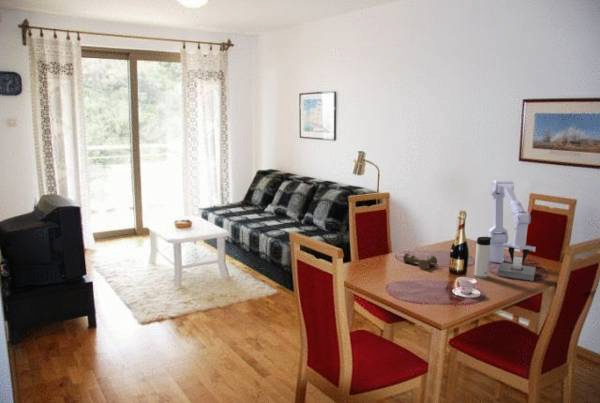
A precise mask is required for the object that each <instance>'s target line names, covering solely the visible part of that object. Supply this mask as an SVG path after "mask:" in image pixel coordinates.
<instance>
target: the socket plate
mask: <svg viewBox="0 0 600 403" xmlns="http://www.w3.org/2000/svg"><path fill="white" fill-rule="evenodd" d="M499 264H500V265H499V267H498V269H497V276H498V277H504V278H508V277H509V278H510V279H516V280H521V279H522V280H521V281H523V280H524V281H528V280H529V281H530V282H535V281H534V279H535V275H536V266H529V265H524V264H523V265H522V271H519V270H512V268H513V263H509V262H503V263H502V262H501V263H499ZM529 281H528V282H529Z"/></svg>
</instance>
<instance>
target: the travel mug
mask: <svg viewBox="0 0 600 403" xmlns="http://www.w3.org/2000/svg"><path fill="white" fill-rule="evenodd" d="M491 239H492V238H491V237H487V236H479V237H477V239H476V247H475V248H476V250H475V260H474V261H475V262H474V270H473V271H474V273H473V274H474V277H475V278H477V279H487V278H488V277H489V276H488V275H489V265H490V261H489V255H490V242H491V241H490V240H491Z"/></svg>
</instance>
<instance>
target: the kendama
mask: <svg viewBox="0 0 600 403" xmlns="http://www.w3.org/2000/svg"><path fill="white" fill-rule="evenodd" d="M403 262H404V263H411V264H414V263H417V265H418V268H419V269H421V270H424V271H426V270H427V269H428V268H429V267H438V266H439V264H438V259H437V257H436V256H435V255H432V254H430V255H428V256H427V258H426V259H423V258H422V259H421V258H418V257H416V256H415V255H414V254H413V255H411V254H409V253H404V255H403Z"/></svg>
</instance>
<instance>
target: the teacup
mask: <svg viewBox="0 0 600 403" xmlns="http://www.w3.org/2000/svg"><path fill="white" fill-rule="evenodd" d="M456 280H457V282H458V283H459V286H458V287H454V288H453V289H452V293H453V294H455V295H456V296H459V297H463V298H468V299H469V298H479V297H480V296H481V292H480V291H479V290H478V289H477V288H478V284H477V282H478V280H476V279H475V278H473V277H472V278H471V277H469V276H467V277H466V276H459V277H457V279H456ZM474 286H475V287H474Z"/></svg>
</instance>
